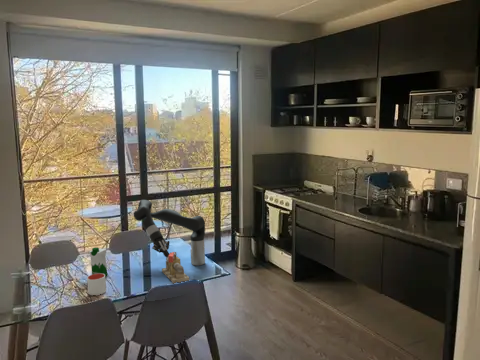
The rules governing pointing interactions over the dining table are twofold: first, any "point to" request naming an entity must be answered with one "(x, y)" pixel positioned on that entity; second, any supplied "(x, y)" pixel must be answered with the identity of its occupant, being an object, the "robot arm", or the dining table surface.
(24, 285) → the dining table surface
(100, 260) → the milk carton
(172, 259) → the lever
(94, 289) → the cup
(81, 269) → the dining table surface
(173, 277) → the valve
